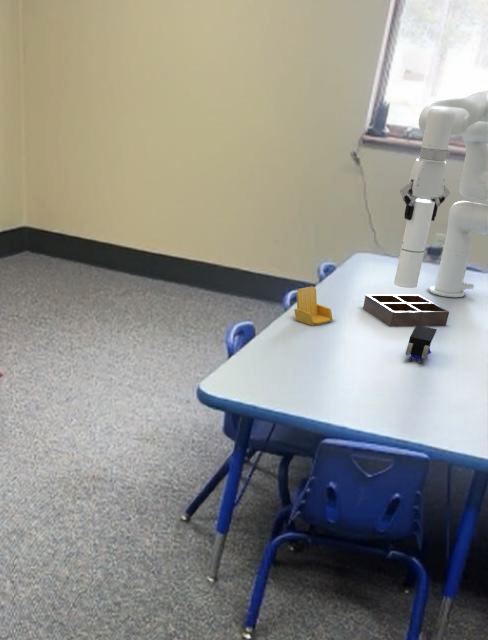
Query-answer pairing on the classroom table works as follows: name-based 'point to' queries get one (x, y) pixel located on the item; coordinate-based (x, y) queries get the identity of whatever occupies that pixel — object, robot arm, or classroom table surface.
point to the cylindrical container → (414, 244)
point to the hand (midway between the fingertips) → (419, 219)
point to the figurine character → (420, 342)
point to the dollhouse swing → (311, 308)
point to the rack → (405, 310)
